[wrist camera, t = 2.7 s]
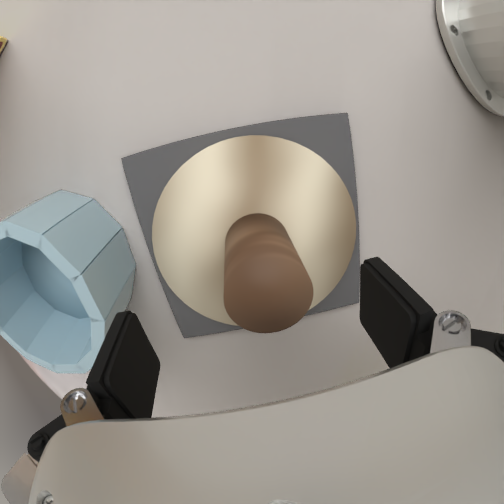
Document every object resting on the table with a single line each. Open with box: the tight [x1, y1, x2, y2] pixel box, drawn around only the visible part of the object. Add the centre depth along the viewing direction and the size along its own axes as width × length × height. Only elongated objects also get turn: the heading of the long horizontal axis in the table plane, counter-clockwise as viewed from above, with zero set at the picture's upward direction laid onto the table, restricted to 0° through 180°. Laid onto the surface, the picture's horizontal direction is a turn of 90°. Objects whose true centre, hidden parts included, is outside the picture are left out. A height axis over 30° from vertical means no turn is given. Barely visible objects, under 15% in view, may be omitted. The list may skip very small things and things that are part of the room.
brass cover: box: [152, 135, 356, 333], centre depth 14 cm, size 12×12×6 cm
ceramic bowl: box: [0, 190, 136, 373], centre depth 14 cm, size 10×10×6 cm
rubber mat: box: [121, 113, 360, 338], centre depth 17 cm, size 13×13×1 cm
